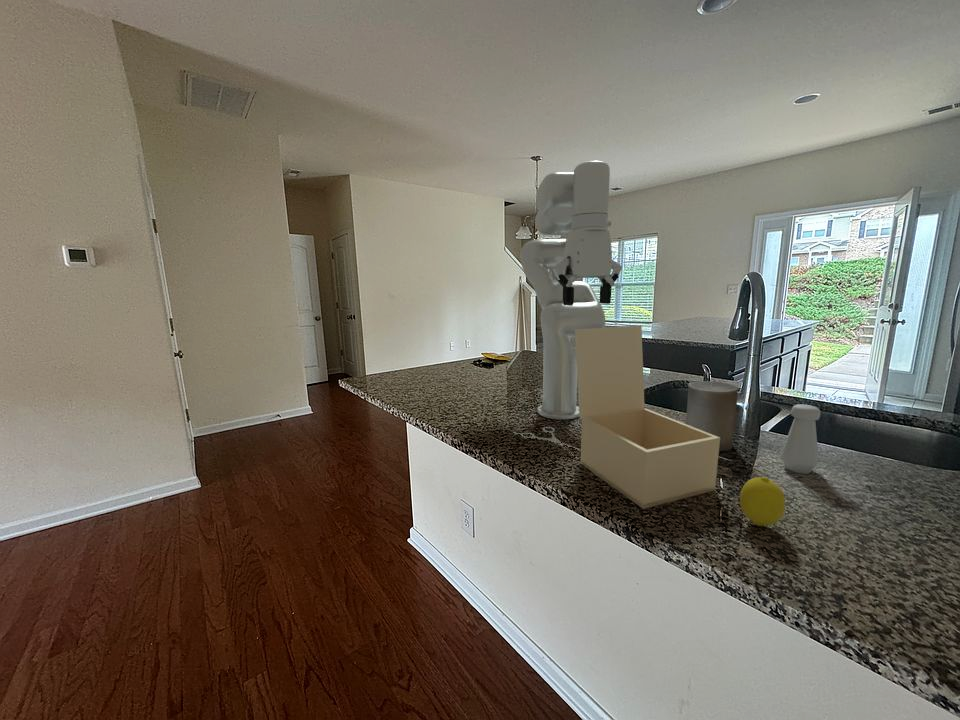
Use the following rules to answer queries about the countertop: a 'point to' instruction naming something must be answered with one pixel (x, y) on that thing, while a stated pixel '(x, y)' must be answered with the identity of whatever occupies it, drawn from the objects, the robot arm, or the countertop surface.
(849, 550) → the countertop surface
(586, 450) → the carton
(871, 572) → the countertop surface
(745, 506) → the lemon
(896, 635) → the countertop surface
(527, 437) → the scissors
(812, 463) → the salt shaker
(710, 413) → the pillar candle
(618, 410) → the carton flap
